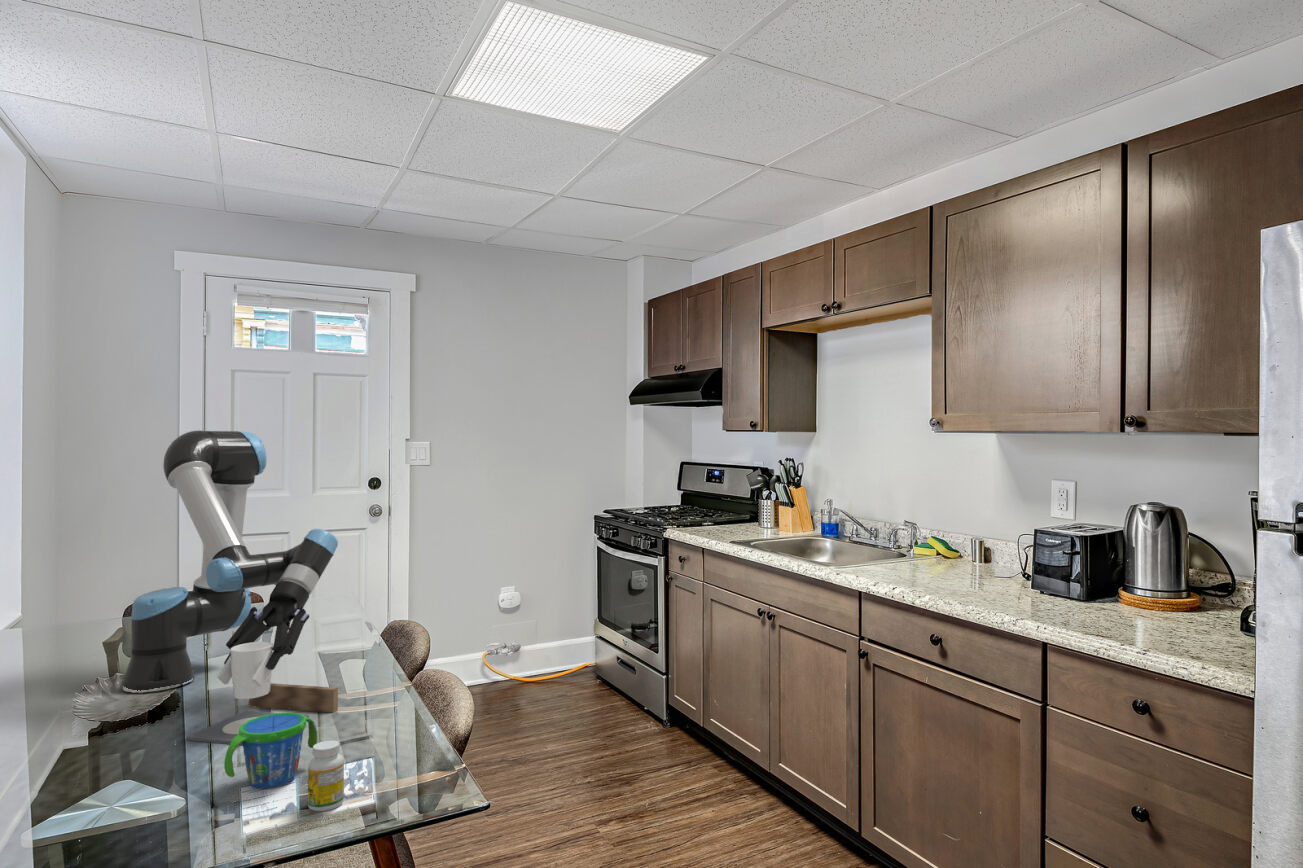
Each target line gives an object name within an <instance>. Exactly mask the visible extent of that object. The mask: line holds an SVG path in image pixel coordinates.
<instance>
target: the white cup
mask: <svg viewBox="0 0 1303 868" xmlns="http://www.w3.org/2000/svg"><path fill="white" fill-rule="evenodd" d="M273 646H274V642H269V641H254V642H252V643H245V644H241V645H237V646H234V647H232V648H231V650H230V652H231V671H232V677H231V681H232V682H231V683H232V685H233V686H232V693H233V694H232V696H233V697H234V699H238V700H249V699H252V698H257V697H261V696H264V695H266V694H268V693H269V692H270V684H271V683H272V681H271V679H272V671H273V670H271V671H270V673H269V674H268V676H267V678H266V680H265V682H264V683H263V685H262V686H258V685H257V684H256V683H255V682H254V681H253V680H252V678H253V677H254V675H255V673H256V671H257V670H258V668H259V666H260V664H261V663H262V661H263V659H264V657H265V656H266V654H267V653H268V651H272V652H274V651H273V650H272V649H271V647H273Z"/></svg>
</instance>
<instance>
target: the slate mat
mask: <svg viewBox="0 0 1303 868" xmlns="http://www.w3.org/2000/svg"><path fill="white" fill-rule="evenodd" d="M275 713H276V712H268V711H256V710H245V711H242V712H240V713H237V714H235V715H233V716H231V717H228V718H225V719H224V720H222V721H219V722H216V723H215V724H212V725H210V726H208V727H206V728H204V729H201V730H199V731H196V732H194V733H193V734H190V735H188V736H186V737H185V741H193V742H201V743H202V742H203V743H204V742H205V743H214V744H215V743H216V744H217V743H218V744H228V745H230V743H231V742H232V739H234V738H235V737H236V736H237V735H238V734H239V728H240V726H241V725H242V724H244V723H245V722H247V721H249V720H251V719H254V718H257V717H260V716H264V715H269V714H275ZM303 715H304V716H305V717H308V718H310V715H309V714H303ZM239 746H242V743H240V744H239Z"/></svg>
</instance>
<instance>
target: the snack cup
mask: <svg viewBox="0 0 1303 868" xmlns="http://www.w3.org/2000/svg"><path fill="white" fill-rule="evenodd" d="M274 713H275V714H269V715H264V716H260V717H257V718H254V719H251V720H249V721H247V722H245V723H244V724H242V725H241V726H240V728H239V734H238V735H237V736H236V737H235V738H234V739H232V742H231V743H230V744H228V747H227V749H226V750H227V751H226V753H225V756H224V763H223V764H224V765H223V768H224V770H225V773H226V776H227V777H229V778H234V777H235V771H234V762H233V756H234V752H235V751H236V750H237V748H238V747H239V746H240V745H239V744H240V743H242V745H241V746H242V749H243V755H244V763H245V770H246V774H247V781H248V783H249V784H250V787H251V788H255V789H257V788H258V789H271V788H272V789H273V788H276V787H280V786H283V785H284V784H286V783H289V782H290V781H291V782H292V781H294V779H295V778H296V776H297V773H298V769H299V764H300V757H301V752H302V751H301V750H302V743H303V734H304V730H305V729H306V727H307V723H308V738H307V739H308V740H307V746H308V747H309V748H310V749H313V746H314V745H315V744H317V743H318V741H319V740H318V739H319V738H318V729H317V725H316V723H315V721H314V720H313V719H312V718H310V717H309V718H308V717H305V716H304V715H305V714H302V713H298V712H290V711H289V712H274Z"/></svg>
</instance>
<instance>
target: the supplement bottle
mask: <svg viewBox="0 0 1303 868" xmlns="http://www.w3.org/2000/svg"><path fill="white" fill-rule="evenodd" d="M340 747H341V746H340V742H339V741H337V740H324V741H321V742H317V744H315V745H314V746H313V748H312V756H313V758H311V759H310V760H309V762H308V765H307V767H308V768H307V775H308V776H307V807H308V809H309V810H311V811H313V812H327V811H331V810H334V809H336V808H338V807H340V806H341V805H342V804H343V803H344V800H345V798H344V797H345V792H344V791H345V789H344V788H345V786H344V785H345V780H344V779H345V771H344V770H345V759H344V757H343V755H342V754H340V751H341V749H340Z"/></svg>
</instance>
